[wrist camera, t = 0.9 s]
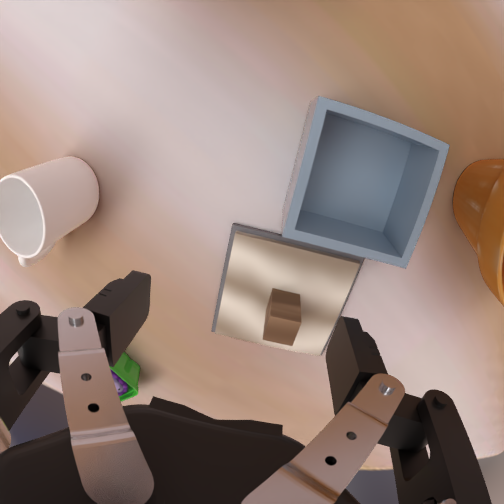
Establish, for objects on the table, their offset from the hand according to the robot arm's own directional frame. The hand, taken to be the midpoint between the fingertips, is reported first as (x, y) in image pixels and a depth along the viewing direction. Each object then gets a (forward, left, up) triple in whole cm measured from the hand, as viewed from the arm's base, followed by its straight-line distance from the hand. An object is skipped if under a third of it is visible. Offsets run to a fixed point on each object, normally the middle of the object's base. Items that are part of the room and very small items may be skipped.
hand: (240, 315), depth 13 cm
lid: (+10, +4, -19) cm, 22 cm away
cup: (+5, -23, -20) cm, 30 cm away
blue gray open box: (-5, +7, -19) cm, 21 cm away
